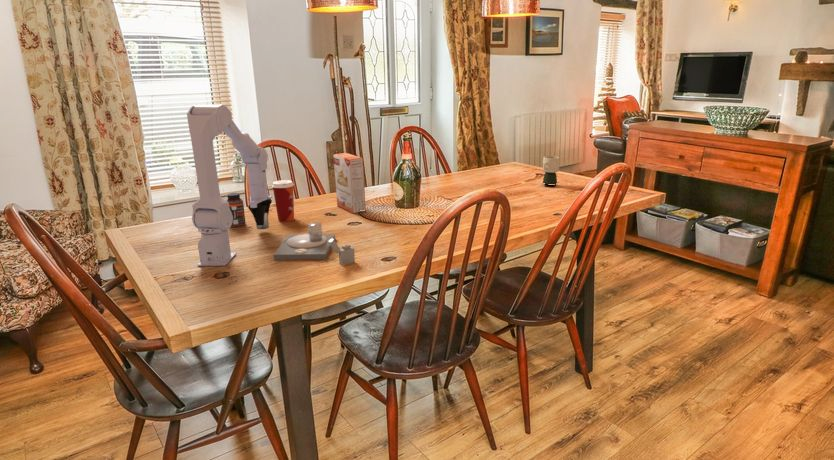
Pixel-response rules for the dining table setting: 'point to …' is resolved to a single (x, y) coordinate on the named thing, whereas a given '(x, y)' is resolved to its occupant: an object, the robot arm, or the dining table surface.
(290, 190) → the paper cup
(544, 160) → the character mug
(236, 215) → the supplement bottle
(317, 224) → the cylinder
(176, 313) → the dining table surface
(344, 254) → the lighter
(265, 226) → the spacer
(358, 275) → the dining table surface
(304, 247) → the kitchen scale
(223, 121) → the robot arm
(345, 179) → the cracker box
